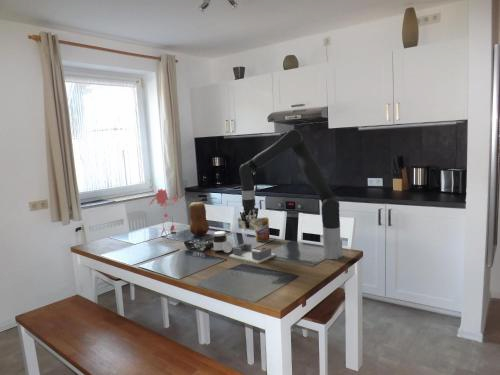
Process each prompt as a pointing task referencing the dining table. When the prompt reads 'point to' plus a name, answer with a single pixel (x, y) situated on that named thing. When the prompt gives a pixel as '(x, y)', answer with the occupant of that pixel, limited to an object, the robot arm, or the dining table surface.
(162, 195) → the red flower in vase
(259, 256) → the cradle
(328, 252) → the robot arm
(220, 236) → the spread jar
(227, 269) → the dining table surface
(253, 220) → the slat
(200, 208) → the butternut squash
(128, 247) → the dining table surface
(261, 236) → the candy box
